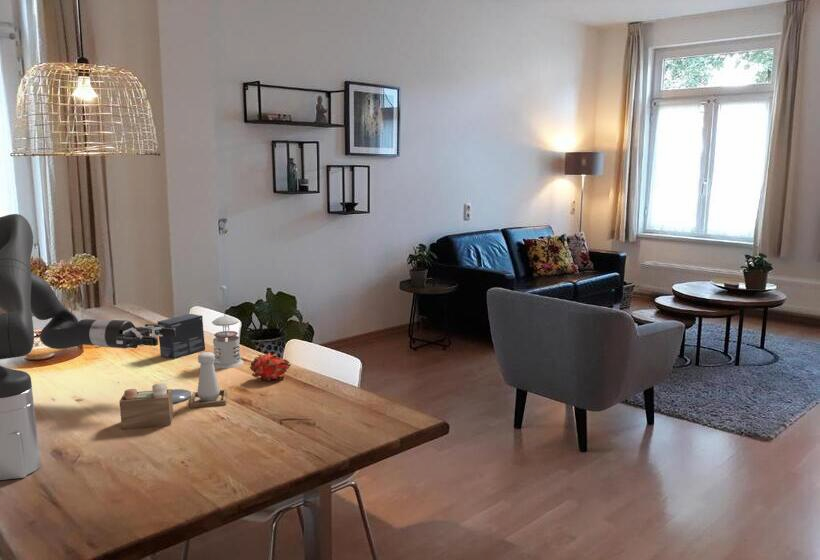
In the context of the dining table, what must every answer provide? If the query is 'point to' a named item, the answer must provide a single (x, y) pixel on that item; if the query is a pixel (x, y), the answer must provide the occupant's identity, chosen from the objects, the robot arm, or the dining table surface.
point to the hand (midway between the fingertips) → (166, 337)
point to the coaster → (180, 395)
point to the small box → (182, 336)
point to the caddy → (146, 407)
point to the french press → (226, 349)
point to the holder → (211, 403)
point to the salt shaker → (207, 378)
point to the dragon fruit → (269, 366)
